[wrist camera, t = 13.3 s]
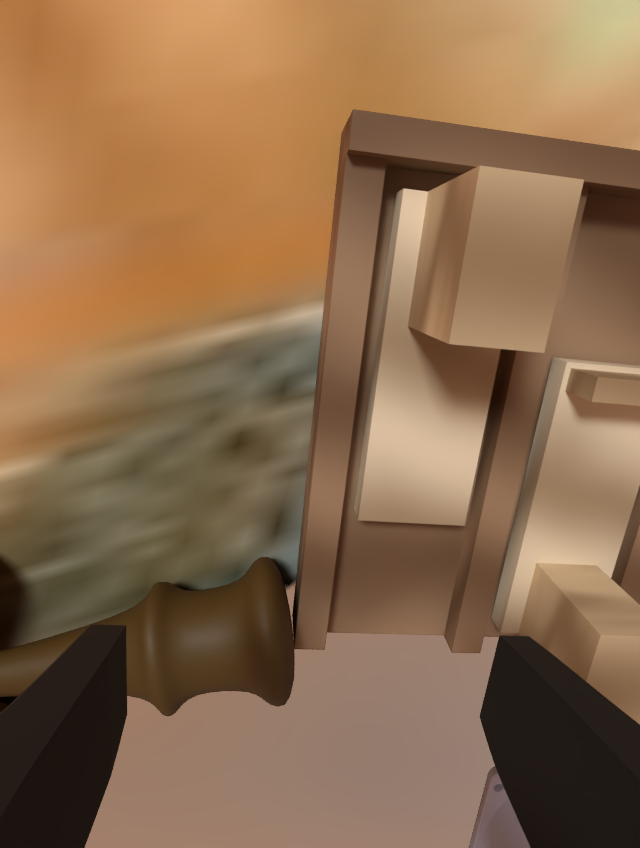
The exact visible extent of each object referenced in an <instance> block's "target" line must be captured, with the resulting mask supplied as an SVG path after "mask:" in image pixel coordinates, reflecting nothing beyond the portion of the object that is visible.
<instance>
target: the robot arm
mask: <svg viewBox="0 0 640 848" xmlns="http://www.w3.org/2000/svg"><path fill="white" fill-rule="evenodd" d="M126 716H127V653H126V625H91V626H89V627H88V628H87V629H86V630H85V631H84V632H83V633H82V634H81V635H80V636H79V637H78V638H77V639H76V640H75V641H74V642H73V643H72V644H71V645H70V646H69V647H68V648H67V649H66V650H65V651H64V652H63V653H62V654H61V655H60V656H59V657H58V658H57V659H56V660H55V661H54V662H53V663H52V664H51V665H50V666H49V667H48V668H47V669H46V670H45V671H44V672H43V673H42V674H41V675H40V676H39V677H38V678H37V679H36V680H35V681H34V682H33V683H32V684H31V685H30V686H29V687H28V688H26V689H25V690H24V691H23V692H22V693H21V694H20V695H19V696H18V697H17V698H16V699H15V700H14V701H13V702H12V703H11V704H10V705H9V706H7V707H6V708H5V709H4V710H3V711H2V712H1V713H0V848H84V847H85V844H86V842H87V839H88V836H89V834H90V831H91V828H92V825H93V823H94V820H95V818H96V815H97V812H98V809H99V807H100V804H101V801H102V798H103V796H104V793H105V790H106V788H107V785H108V782H109V779H110V777H111V773H112V770H113V766H114V762H115V758H116V755H117V751H118V747H119V744H120V740H121V736H122V732H123V728H124V724H125V720H126ZM480 719H481V722H482V726H483V729H484V732H485V736H486V739H487V742H488V745H489V749H490V752H491V755H492V757H493V761H494V763H495V767H493V768H492V769H491V770H490V771H489V773H488V777H487V781H486V784H485V788H484V792H483V795H482V799H481V803H480V807H479V811H478V814H477V818H476V822H475V826H474V830H473V834H472V837H471V842H470V845H469V848H640V724H638V723H637V722H636V721H635V720H633V719H632V718H631V717H630V716H628V715H627V714H626V713H625V712H623V711H622V710H621V709H620V708H618V707H617V706H616V705H615V704H613V703H612V702H611V701H610V700H608V699H607V698H606V697H605V696H603V695H602V694H601V693H600V692H598V691H597V690H596V689H595V688H594V687H592V686H591V685H590V684H589V683H587V682H586V681H585V680H584V679H582V678H581V677H580V676H579V675H578V674H576V673H575V672H574V671H573V670H571V669H570V668H569V667H568V666H567V665H565V664H564V663H563V662H562V661H560V660H559V659H558V658H557V657H555V656H554V655H553V654H552V653H550V652H549V651H548V650H547V649H545V648H544V647H543V646H541V645H540V644H539V643H537V642H536V641H535V640H533V639H532V638H531V637H529V636H507V635H500V636H499V640H498V644H497V648H496V652H495V657H494V660H493V664H492V669H491V672H490V677H489V681H488V685H487V689H486V693H485V697H484V701H483V705H482V709H481V713H480Z"/></svg>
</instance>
